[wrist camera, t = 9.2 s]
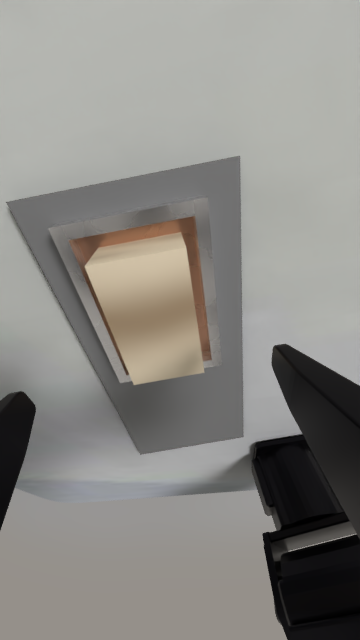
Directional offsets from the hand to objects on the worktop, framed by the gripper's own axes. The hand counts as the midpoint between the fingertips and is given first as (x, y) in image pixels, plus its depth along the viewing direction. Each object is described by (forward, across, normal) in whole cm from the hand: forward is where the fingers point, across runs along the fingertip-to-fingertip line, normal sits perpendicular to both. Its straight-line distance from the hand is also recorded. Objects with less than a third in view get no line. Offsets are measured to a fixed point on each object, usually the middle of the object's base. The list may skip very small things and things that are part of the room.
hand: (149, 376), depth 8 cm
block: (+6, 0, 0) cm, 6 cm away
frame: (+6, 0, 0) cm, 6 cm away
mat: (+6, 0, +5) cm, 8 cm away
